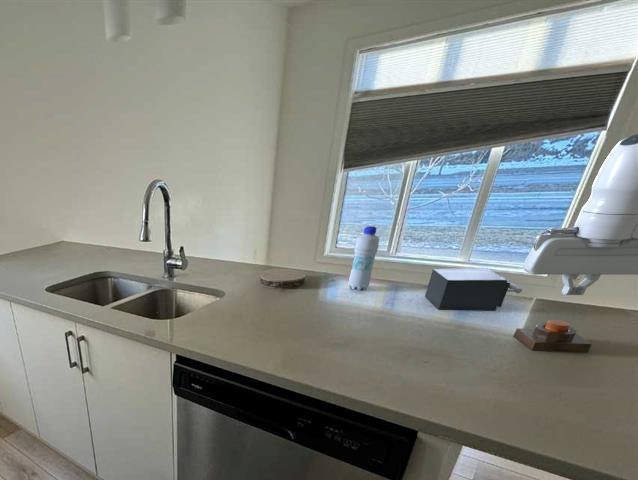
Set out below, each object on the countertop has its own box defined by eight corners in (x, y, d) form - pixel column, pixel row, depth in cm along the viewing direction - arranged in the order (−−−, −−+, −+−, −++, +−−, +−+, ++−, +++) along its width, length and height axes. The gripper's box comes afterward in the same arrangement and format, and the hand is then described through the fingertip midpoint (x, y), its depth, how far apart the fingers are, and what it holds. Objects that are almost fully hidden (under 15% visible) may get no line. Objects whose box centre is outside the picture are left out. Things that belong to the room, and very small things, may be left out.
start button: (560, 327, 92) (563, 319, 91) (570, 333, 89) (574, 325, 88) (540, 326, 93) (544, 319, 92) (550, 332, 90) (553, 325, 89)
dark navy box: (476, 297, 121) (487, 268, 117) (495, 310, 111) (507, 280, 107) (424, 296, 125) (432, 268, 120) (438, 309, 115) (447, 280, 111)
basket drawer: (501, 294, 118) (511, 271, 115) (520, 307, 110) (531, 282, 106) (434, 294, 123) (441, 272, 120) (447, 306, 115) (455, 282, 111)
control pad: (564, 338, 95) (572, 322, 93) (587, 353, 88) (596, 336, 86) (512, 336, 98) (519, 321, 96) (531, 351, 91) (538, 334, 89)
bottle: (371, 291, 132) (385, 227, 122) (348, 291, 134) (361, 228, 124) (366, 285, 138) (380, 223, 128) (345, 285, 140) (356, 224, 130)
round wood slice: (258, 288, 144) (258, 280, 143) (260, 276, 157) (260, 268, 156) (306, 289, 139) (307, 280, 138) (303, 276, 152) (305, 268, 151)
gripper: (550, 231, 80) (521, 298, 87) (686, 228, 75) (643, 299, 82) (532, 225, 85) (506, 289, 92) (658, 222, 80) (620, 290, 87)
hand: (571, 294), depth 87 cm, fingers closed
